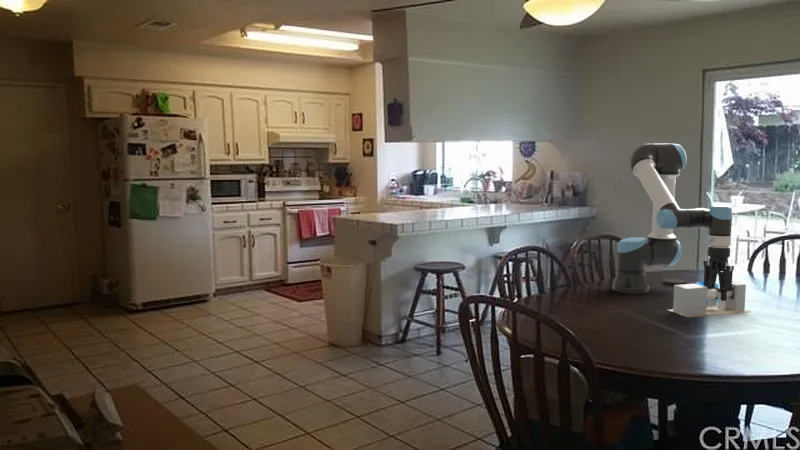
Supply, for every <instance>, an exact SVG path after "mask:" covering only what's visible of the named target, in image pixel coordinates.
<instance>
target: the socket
mask: <svg viewBox="0 0 800 450" xmlns="http://www.w3.org/2000/svg"><path fill="white" fill-rule="evenodd" d="M746 287H747V285H746V284H745V283H741V282H737V281H733V280H732V289H733V291H734V295H733V296H732V297H726V301H725V308H727V309H730V310H733V311H745V310H746Z"/></svg>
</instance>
